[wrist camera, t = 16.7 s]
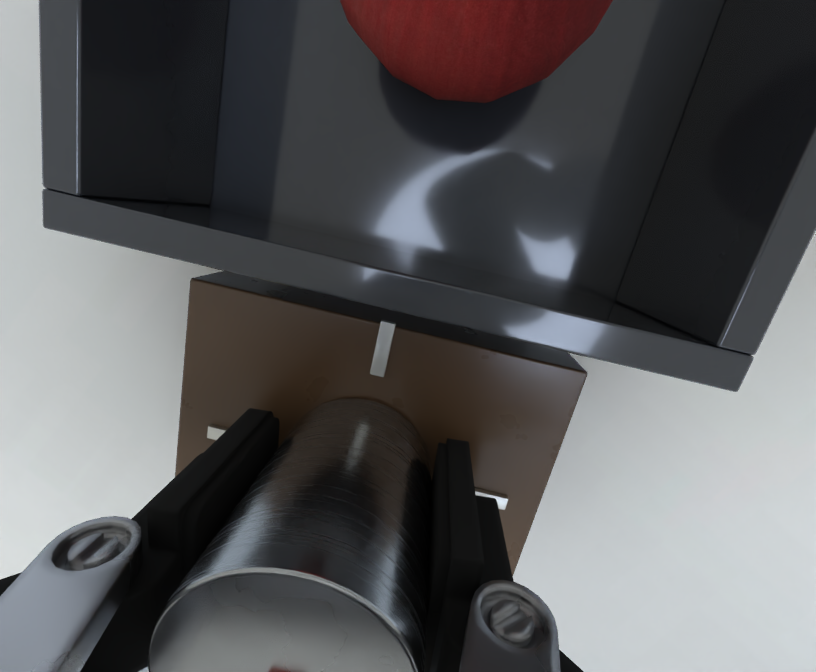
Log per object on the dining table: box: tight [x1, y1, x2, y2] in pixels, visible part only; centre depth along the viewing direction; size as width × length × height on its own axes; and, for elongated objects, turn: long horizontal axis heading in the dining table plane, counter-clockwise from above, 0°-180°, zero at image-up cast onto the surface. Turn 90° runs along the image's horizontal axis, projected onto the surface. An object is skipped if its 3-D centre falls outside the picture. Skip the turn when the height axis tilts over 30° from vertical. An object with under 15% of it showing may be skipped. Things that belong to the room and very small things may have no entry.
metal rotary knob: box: [147, 399, 432, 672], centre depth 8 cm, size 4×4×6 cm
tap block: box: [175, 271, 587, 576], centre depth 13 cm, size 8×10×5 cm
